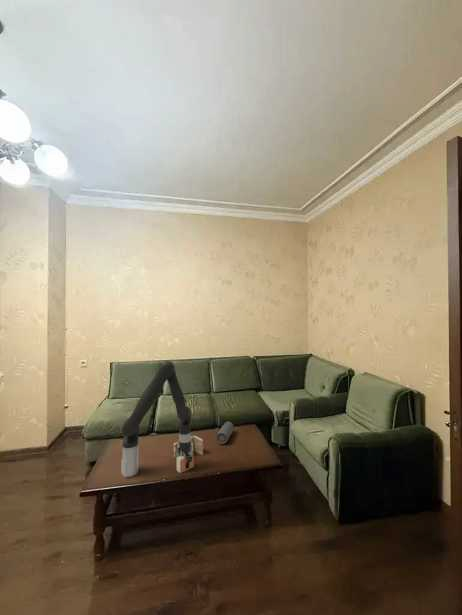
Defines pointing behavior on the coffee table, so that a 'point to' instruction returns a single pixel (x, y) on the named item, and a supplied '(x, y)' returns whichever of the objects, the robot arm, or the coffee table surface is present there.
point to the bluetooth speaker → (225, 432)
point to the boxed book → (183, 464)
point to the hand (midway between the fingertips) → (185, 466)
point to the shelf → (196, 445)
